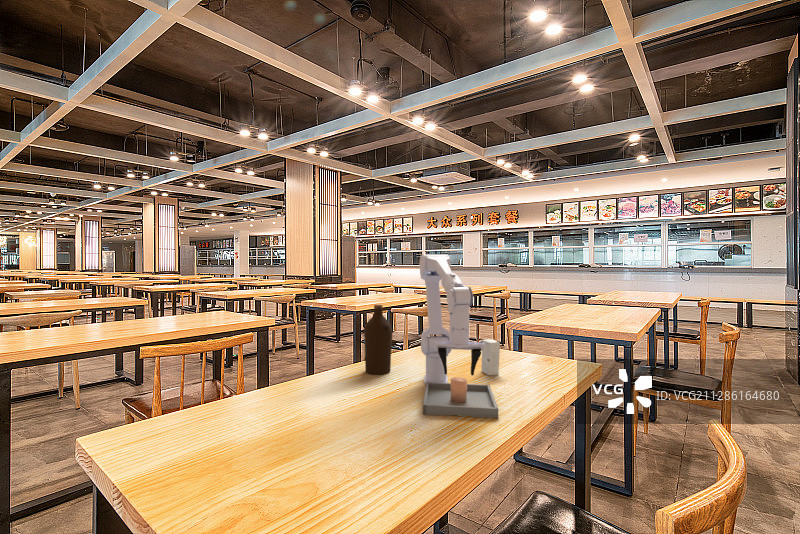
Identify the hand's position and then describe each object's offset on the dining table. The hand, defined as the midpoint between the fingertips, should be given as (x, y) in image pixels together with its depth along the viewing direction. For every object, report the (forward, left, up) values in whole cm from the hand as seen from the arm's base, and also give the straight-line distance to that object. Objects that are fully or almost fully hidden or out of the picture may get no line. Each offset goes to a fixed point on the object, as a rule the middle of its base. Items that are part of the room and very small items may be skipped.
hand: (458, 373), depth 113 cm
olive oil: (-29, -29, -9) cm, 42 cm away
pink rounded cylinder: (0, 0, -8) cm, 8 cm away
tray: (0, 0, -9) cm, 9 cm away
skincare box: (-32, +13, -9) cm, 36 cm away
